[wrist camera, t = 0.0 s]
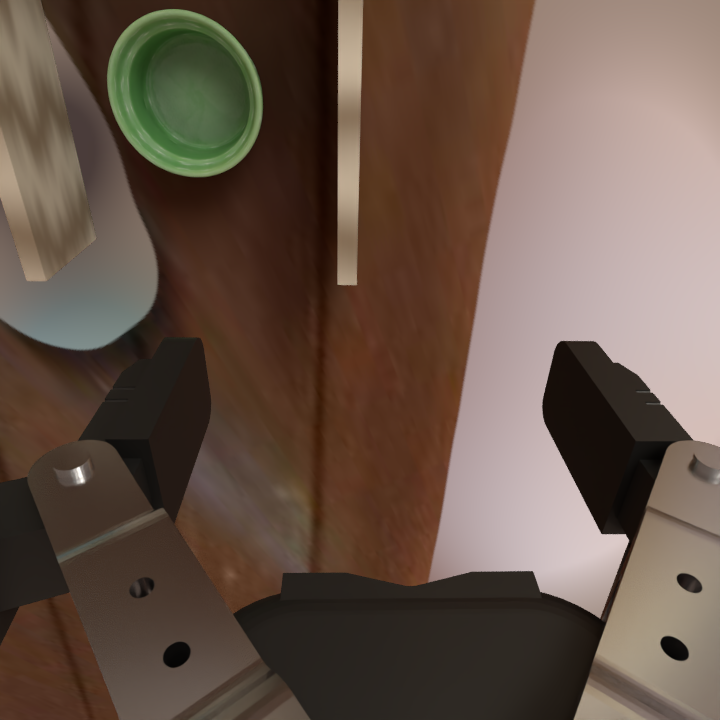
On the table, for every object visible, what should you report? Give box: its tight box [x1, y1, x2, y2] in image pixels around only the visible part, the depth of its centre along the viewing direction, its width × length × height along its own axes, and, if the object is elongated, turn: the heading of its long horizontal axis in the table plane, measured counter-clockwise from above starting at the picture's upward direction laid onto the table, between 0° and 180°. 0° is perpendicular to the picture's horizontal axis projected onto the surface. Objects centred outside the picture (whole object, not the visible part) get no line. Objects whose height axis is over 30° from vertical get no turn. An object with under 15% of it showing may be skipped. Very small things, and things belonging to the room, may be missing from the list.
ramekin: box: [107, 9, 263, 177], centre depth 34 cm, size 9×9×4 cm
